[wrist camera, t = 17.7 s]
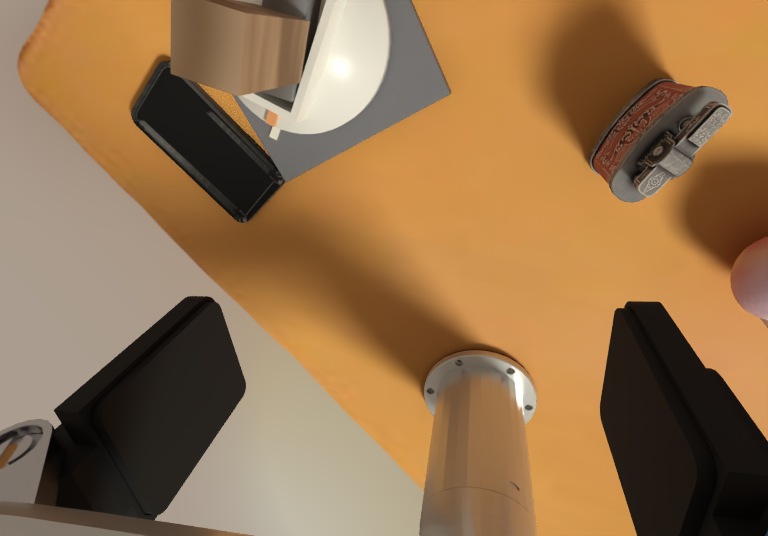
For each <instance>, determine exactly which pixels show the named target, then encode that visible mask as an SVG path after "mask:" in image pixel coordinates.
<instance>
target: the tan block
mask: <svg viewBox="0 0 768 536" xmlns="http://www.w3.org/2000/svg"><path fill="white" fill-rule="evenodd" d="M320 5H321V0H263V1H262V6H260V5H257V4H253V3H247V2H242V1H236V0H171V74H173V75H176V76H179V77H182V78H185V79H188V80H191V81H194V82H197V83H200V84H203V85H206V86H209V87H212V88H215V89H218V90H221V91H224V92H227V93H230V94H233V95H236V96H242V95H246V94H251V93H256V92H263V93H266V94H269V95H272V96H275V97H278V98H281V99H284V100H287V101H290V102H292V101H295V97H296V94H297V91H298V88H299V85H300V82H301V79H302V75H303V72H304V69H305V66H306V63H307V60H308V56H309V53H310V50H311V47H312V44H313V41H314V37H315V34H316V30H317V24H318V18H319V12H320Z"/></svg>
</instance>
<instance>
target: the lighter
mask: <svg viewBox="0 0 768 536" xmlns="http://www.w3.org/2000/svg"><path fill="white" fill-rule="evenodd" d="M732 113H733V112H732V109H731V108H730V107H729V106H728V100H727V97H726V95H725V94H724V93H723V92H722V91H721V90H718V89H716V88H713V87H707V86H699V87H692V86H687V85H682V84H679V83H678V82H676V81H674V80H671V79H664V78H660V79H656V80H653V81H652V82H650V83H649V84H648V85H646V86H645V87H644V88H643V89H642V90H641V91H640V92H638V93H637V94H636V95H635V96H634V97H633V98H632V99H631V100H630V101H629V102H628V103H627V104H626V105H625V106H624V107H623V108H622V109H621V110H620V111H619V112H618V113H617V115H616V116H615V117H614V118H613V119H612V121H611V122H610V123H609V125H608V126H607V127H606V129H605V130H604V131H603V133H602V134H601V136H600V137H599V139H598V141H597V142H596V144H595V146H594V147H593V149H592V151H591V153H590V155H589V158H588V161H589V165H590V167H591V168H592V170H593V171H594V172H596V173H597V174H599V175H601V176H602V177H603V178H604V179H605V181H606V182H607V183H608V184H609V187H610V189H611V191H612V193H613V194H614V195H615V196H616V197H617V198H618V199H620V200H622V201H624V202H631V203H633V202H638V201H640V200H642V199H644V198H646V197H650V196H653V195H654V194H656V193H657V192H658V191H659V190H660V189H661V188H662V187H663V186H664V185H665V184H666V183H667V182H668V181H669V180H672V179H674V178H675V177H679V176H681V175H682V174H684V173H685V172H686V171H687V170H688V169H689V168H690V167H691V165H692V164H693V159H694V157H695V154H696V153H697V151H698V150H699V149H700V148H701V147H702V146H703V145H704V144H705V143H706V142H707V141H708V140H709V139H710V138H711V137H712V136H713V135H714V134H715V133H716V132H717V131H718V130H719V129H720V128H721V127H722V126H723V125H724V124H725V123H726V122H727V121H728V120H729V118H730V117H731V116H732Z"/></svg>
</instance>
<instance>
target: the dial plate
mask: <svg viewBox="0 0 768 536" xmlns="http://www.w3.org/2000/svg"><path fill="white" fill-rule="evenodd" d="M385 1H386V4H387V8H388V12H389V16H390V23H391V39H392V44H391V54H390V60H389V65H388V69H387V72H386V75H385V78H384V81H383V83H382V85H381V87H380V89H379V91H378V93H377V94H376V96H375V97H374V99H373V100H372V101H371V103H370V104H369V105H368V106H367V107H366V108H365V109H364V110H363V111H362V112H361V113H360V114H359V115H357V116H356V117H355V118H353V119H352V120H350V121H348V122H347V123H345V124H343V125H342V126H339V127H337V128H335V129H333V130H330V131H326V132H323V133H317V134H298V133H292V132H288V131H285V130H281V129H279V128H277V127H273V126H271V125H269V124H267V123H265V121H264V120H262V119H261V118H259V117H258V116H257V115H255V114H254V113H253V112H252V111H251V110H250V109H249V108H248V107H247V106H246V105H245V104H244V103H243V102H242V101H241V100H240V99H239V97H238V96H236V95H233V94H232V95H233V96H234V98H235V100H236V101H237V103H238V105H239V106H240V108H241V109H242V111H243V113H244V114H245V116H246V118H247V119H248V121H249V123H250V124H251V126H252V127H253V129H254V131H255V132H256V134H257V136H258V137H259V139H260V141H261V142H262V144H263V145H264V147H265V149H266V150H267V152H268V154H269V155H270V157H271V158H272V160H273V162H274V163H275V165H276V167H277V168H278V170H279V172H280V173H281V175H282V176H283V178H284V180H285V181H286V182H288V181H290V180H291V179H293V178H295V177H297V176H299V175H301V174H303V173H304V172H306V171H308V170H310V169H312V168H314V167H316V166H317V165H319V164H321V163H323V162H325V161H327V160H329V159H331V158H332V157H334V156H336V155H338V154H340V153H342V152H344V151H345V150H347V149H349V148H351V147H353V146H355V145H357V144H358V143H360V142H362V141H364V140H366V139H368V138H370V137H371V136H373V135H375V134H377V133H379V132H381V131H383V130H384V129H386V128H388V127H390V126H392V125H394V124H396V123H398V122H399V121H401V120H403V119H405V118H407V117H409V116H411V115H412V114H414V113H416V112H418V111H420V110H422V109H424V108H425V107H427V106H429V105H431V104H433V103H435V102H437V101H438V100H440V99H442V98H444V97H446V96H448V95H450V94H451V90H450V88H449V85H448V83H447V81H446V79H445V76H444V74H443V72H442V69H441V67H440V65H439V62H438V60H437V58H436V56H435V53H434V51H433V49H432V46H431V44H430V42H429V39H428V37H427V35H426V32H425V30H424V28H423V26H422V23H421V21H420V19H419V16H418V14H417V12H416V9H415V7H414V5H413V2H412V0H385Z"/></svg>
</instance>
